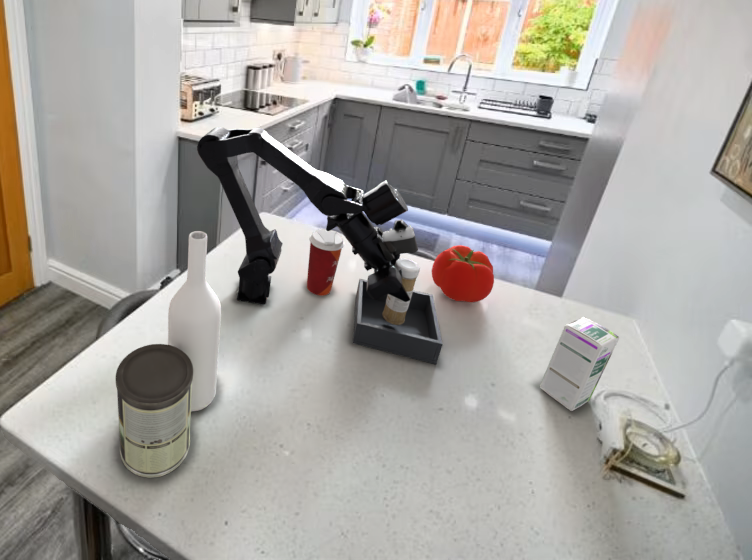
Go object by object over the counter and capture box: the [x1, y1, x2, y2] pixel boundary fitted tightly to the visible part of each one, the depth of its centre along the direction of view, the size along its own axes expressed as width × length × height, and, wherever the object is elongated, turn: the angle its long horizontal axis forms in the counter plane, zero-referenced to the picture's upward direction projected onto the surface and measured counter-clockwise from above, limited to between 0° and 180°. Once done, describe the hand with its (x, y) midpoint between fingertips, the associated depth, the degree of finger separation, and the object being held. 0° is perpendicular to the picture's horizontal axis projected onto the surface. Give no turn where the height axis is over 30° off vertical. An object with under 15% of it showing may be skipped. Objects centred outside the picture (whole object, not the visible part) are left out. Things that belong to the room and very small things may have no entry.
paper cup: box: [306, 228, 345, 297], centre depth 99 cm, size 8×8×14 cm
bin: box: [352, 278, 444, 365], centre depth 90 cm, size 16×16×5 cm
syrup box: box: [539, 316, 620, 412], centre depth 75 cm, size 6×6×14 cm
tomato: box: [431, 244, 495, 303], centre depth 102 cm, size 14×13×10 cm
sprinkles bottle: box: [382, 257, 421, 325], centre depth 88 cm, size 5×5×14 cm
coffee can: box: [115, 343, 193, 479], centre depth 61 cm, size 10×10×14 cm
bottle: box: [167, 230, 222, 412], centre depth 67 cm, size 8×8×30 cm
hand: (407, 294), depth 88 cm, fingers closed on sprinkles bottle, 4 cm apart
